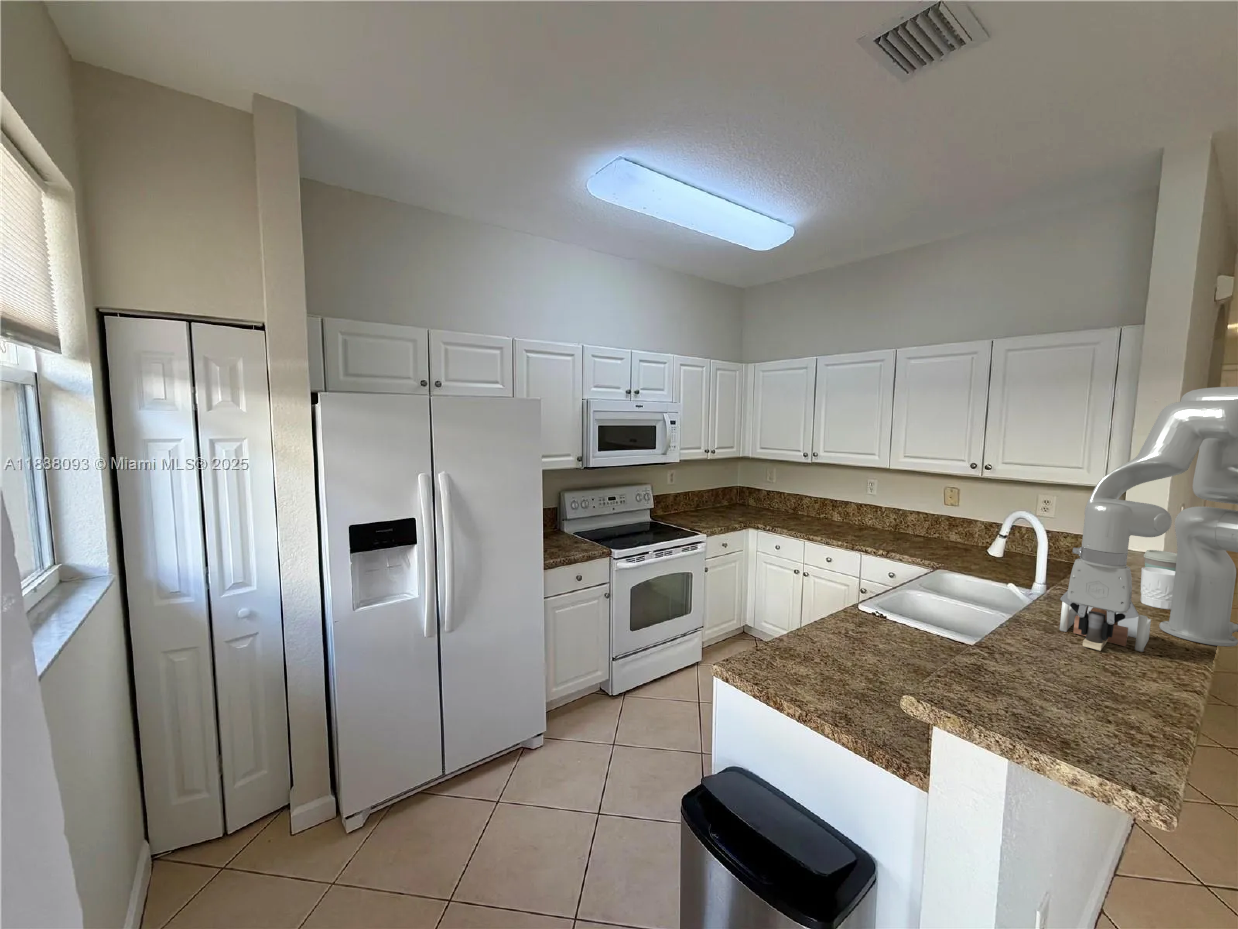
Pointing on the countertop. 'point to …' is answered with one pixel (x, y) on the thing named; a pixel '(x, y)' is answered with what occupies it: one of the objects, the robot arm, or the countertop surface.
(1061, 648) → the countertop surface
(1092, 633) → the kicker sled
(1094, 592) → the robot arm
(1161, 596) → the white cup
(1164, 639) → the countertop surface
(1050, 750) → the countertop surface
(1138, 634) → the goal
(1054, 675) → the countertop surface
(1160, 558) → the coffee cup
